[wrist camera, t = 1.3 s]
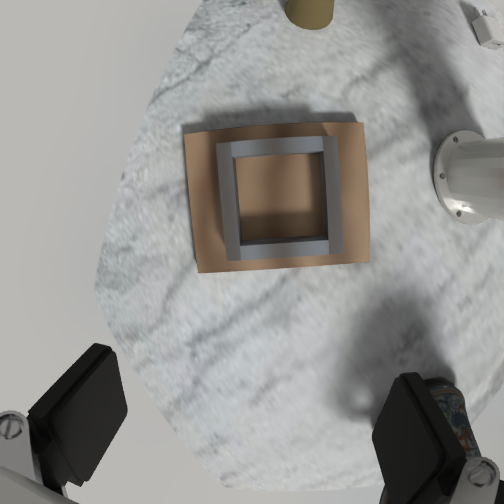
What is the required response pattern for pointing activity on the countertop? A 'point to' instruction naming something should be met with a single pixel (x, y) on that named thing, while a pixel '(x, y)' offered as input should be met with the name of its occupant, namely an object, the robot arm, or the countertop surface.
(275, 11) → the countertop surface
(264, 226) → the shaker holder
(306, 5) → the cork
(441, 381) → the beer stein
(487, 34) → the usb wall charger
